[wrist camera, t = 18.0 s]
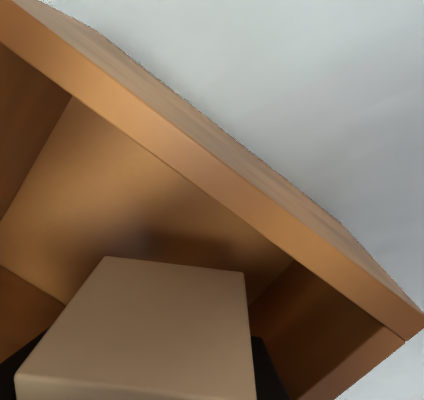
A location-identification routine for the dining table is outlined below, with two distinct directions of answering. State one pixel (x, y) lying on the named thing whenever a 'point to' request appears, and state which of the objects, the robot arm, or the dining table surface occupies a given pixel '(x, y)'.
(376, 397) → the dining table surface
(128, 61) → the open wooden box
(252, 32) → the dining table surface
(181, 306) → the cube
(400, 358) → the dining table surface
